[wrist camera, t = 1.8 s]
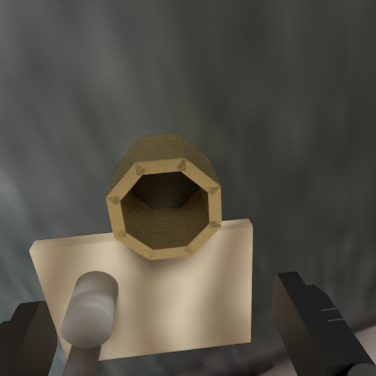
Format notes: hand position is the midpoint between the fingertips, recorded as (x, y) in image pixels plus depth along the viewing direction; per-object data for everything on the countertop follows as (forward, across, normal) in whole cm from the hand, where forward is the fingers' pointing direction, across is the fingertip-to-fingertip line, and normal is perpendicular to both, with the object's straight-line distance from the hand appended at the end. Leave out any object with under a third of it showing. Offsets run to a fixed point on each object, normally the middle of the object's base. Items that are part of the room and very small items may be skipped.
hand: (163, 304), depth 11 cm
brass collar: (+12, 0, 0) cm, 12 cm away
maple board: (+12, +2, +10) cm, 16 cm away
